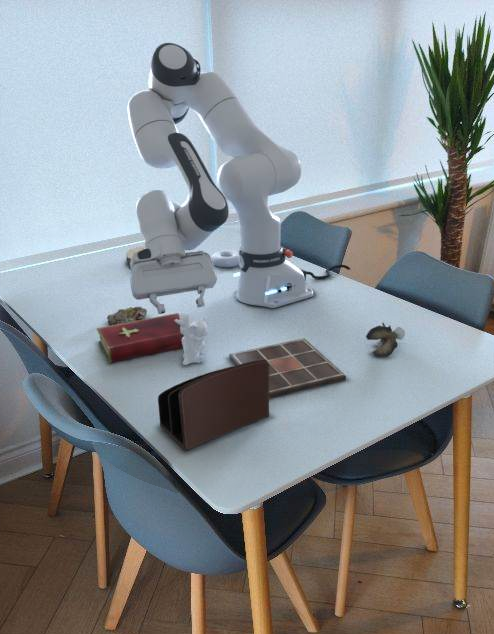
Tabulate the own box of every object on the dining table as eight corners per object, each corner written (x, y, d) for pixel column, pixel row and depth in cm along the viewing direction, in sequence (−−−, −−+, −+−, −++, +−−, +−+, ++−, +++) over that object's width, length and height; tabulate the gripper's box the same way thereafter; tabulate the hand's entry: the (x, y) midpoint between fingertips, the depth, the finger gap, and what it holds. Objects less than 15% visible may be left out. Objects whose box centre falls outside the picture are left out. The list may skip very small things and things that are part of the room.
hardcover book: (195, 346, 148) (194, 330, 146) (110, 364, 141) (107, 348, 139) (179, 326, 158) (178, 312, 155) (98, 342, 150) (96, 327, 148)
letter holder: (270, 417, 122) (270, 355, 115) (185, 452, 113) (179, 388, 105) (242, 395, 129) (241, 336, 122) (159, 427, 119) (152, 365, 112)
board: (304, 342, 150) (304, 337, 149) (345, 380, 135) (346, 375, 134) (229, 358, 143) (229, 353, 142) (264, 399, 128) (264, 394, 127)
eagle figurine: (372, 333, 152) (357, 340, 144) (391, 313, 147) (377, 320, 140) (392, 355, 150) (379, 364, 143) (412, 336, 146) (400, 344, 139)
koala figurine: (184, 370, 138) (181, 322, 132) (170, 359, 143) (166, 312, 136) (215, 359, 143) (213, 313, 136) (200, 349, 147) (198, 303, 141)
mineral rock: (140, 301, 165) (148, 304, 158) (143, 317, 167) (151, 320, 160) (101, 310, 161) (108, 314, 154) (105, 326, 163) (112, 330, 156)
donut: (237, 257, 202) (208, 260, 200) (237, 247, 201) (208, 249, 198) (245, 267, 194) (215, 270, 192) (245, 257, 193) (215, 259, 190)
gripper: (205, 256, 149) (220, 307, 147) (123, 267, 143) (138, 321, 140) (211, 243, 143) (226, 297, 141) (125, 255, 137) (140, 311, 134)
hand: (181, 309), depth 141 cm, fingers open, 8 cm apart
